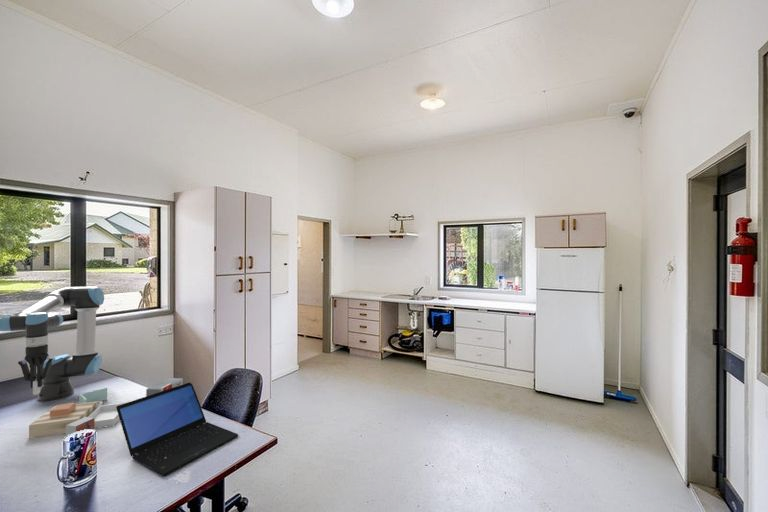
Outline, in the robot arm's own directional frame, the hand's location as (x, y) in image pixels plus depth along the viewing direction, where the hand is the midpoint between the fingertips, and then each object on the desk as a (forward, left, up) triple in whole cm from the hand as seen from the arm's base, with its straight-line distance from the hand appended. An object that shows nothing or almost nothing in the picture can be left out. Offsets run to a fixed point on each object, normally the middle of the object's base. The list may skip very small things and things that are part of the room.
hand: (36, 393), depth 161 cm
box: (0, +28, -17) cm, 32 cm away
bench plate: (0, +11, -17) cm, 20 cm away
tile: (0, +10, -11) cm, 15 cm away
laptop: (+38, +68, -18) cm, 80 cm away
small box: (+25, +27, -17) cm, 40 cm away
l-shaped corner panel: (-21, +16, -18) cm, 31 cm away
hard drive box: (+15, +57, -17) cm, 62 cm away
